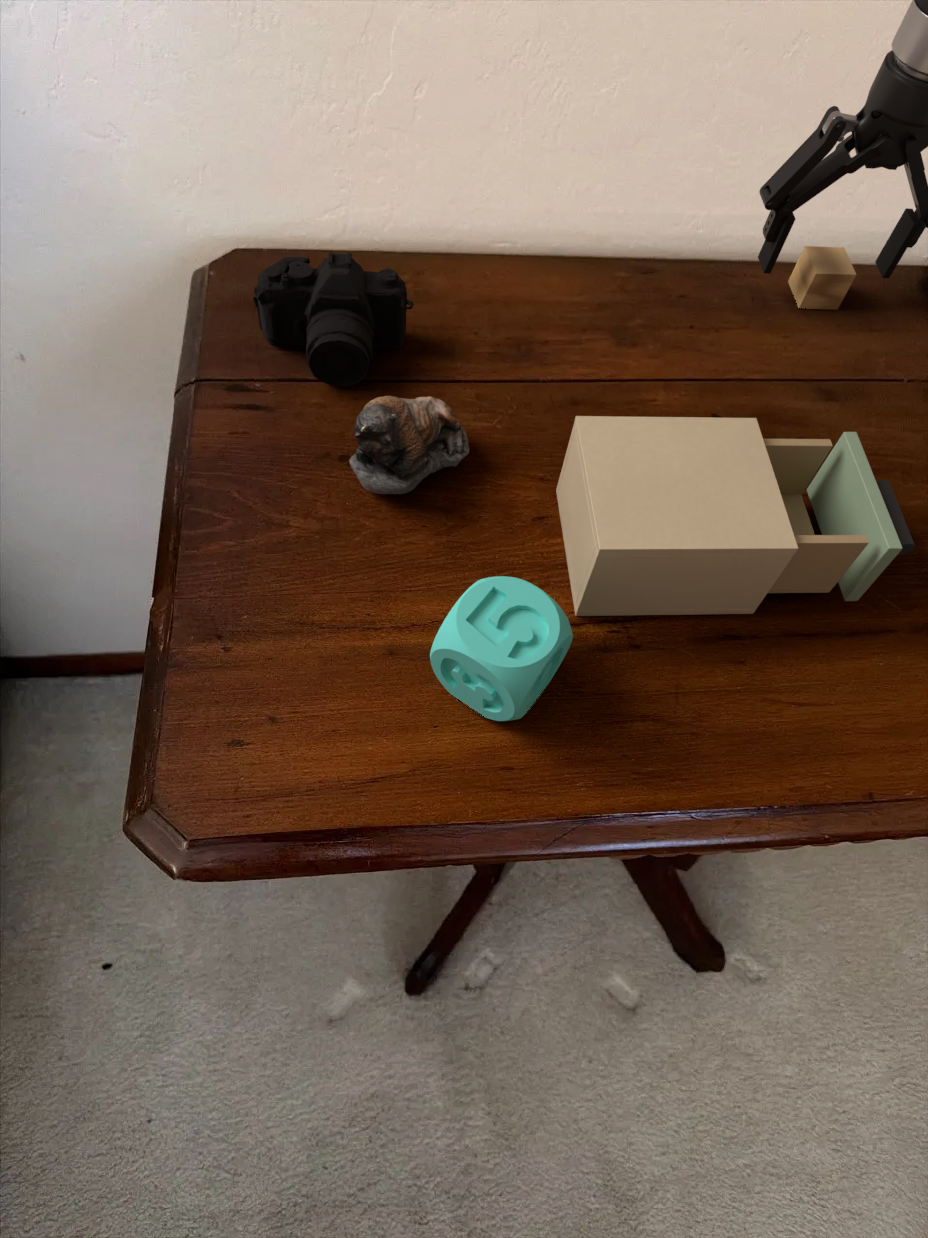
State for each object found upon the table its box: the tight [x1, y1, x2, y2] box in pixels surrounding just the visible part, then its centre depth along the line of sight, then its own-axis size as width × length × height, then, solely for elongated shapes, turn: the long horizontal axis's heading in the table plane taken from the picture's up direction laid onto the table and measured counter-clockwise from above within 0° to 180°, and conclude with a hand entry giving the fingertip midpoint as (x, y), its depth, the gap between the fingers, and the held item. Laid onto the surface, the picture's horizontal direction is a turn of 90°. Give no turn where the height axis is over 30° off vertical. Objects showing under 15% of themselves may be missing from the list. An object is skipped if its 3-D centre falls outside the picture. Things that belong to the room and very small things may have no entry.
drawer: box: [763, 431, 916, 602], centre depth 75 cm, size 18×12×8 cm
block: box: [787, 245, 857, 311], centre depth 97 cm, size 5×5×5 cm
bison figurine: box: [348, 395, 470, 495], centre depth 76 cm, size 12×7×10 cm, turn 136°
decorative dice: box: [429, 575, 574, 722], centre depth 67 cm, size 8×8×8 cm
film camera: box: [252, 251, 415, 388], centre depth 84 cm, size 15×10×9 cm, turn 92°
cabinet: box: [555, 415, 798, 617], centre depth 74 cm, size 16×14×10 cm
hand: (823, 267), depth 96 cm, fingers open, 13 cm apart
